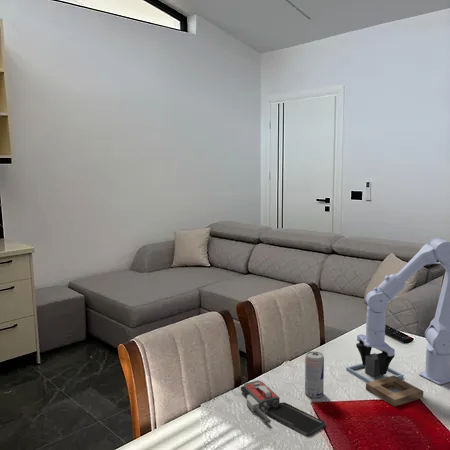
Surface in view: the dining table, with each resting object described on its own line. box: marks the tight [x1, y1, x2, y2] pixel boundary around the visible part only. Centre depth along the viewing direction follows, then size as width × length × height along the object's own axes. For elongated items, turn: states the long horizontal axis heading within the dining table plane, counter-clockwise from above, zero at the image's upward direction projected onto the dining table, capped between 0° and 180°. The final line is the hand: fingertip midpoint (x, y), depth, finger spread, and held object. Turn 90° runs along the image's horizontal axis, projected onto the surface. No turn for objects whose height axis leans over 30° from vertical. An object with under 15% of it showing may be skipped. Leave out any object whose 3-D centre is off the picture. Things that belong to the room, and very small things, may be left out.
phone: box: [265, 401, 326, 437], centre depth 120 cm, size 8×1×15 cm
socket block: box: [365, 374, 424, 407], centre depth 133 cm, size 11×11×2 cm
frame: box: [345, 363, 404, 383], centre depth 146 cm, size 12×12×1 cm
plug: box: [364, 352, 384, 379], centre depth 145 cm, size 4×4×6 cm
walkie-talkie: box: [240, 380, 281, 424], centre depth 127 cm, size 9×4×20 cm
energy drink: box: [304, 351, 325, 399], centre depth 133 cm, size 5×5×12 cm
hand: (374, 369), depth 146 cm, fingers open, 7 cm apart
